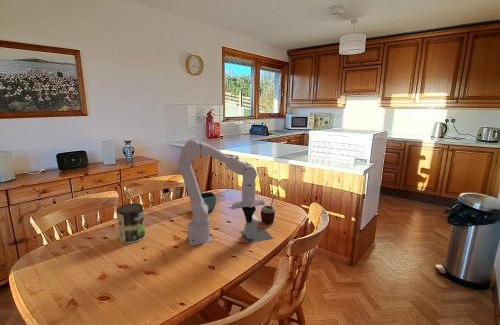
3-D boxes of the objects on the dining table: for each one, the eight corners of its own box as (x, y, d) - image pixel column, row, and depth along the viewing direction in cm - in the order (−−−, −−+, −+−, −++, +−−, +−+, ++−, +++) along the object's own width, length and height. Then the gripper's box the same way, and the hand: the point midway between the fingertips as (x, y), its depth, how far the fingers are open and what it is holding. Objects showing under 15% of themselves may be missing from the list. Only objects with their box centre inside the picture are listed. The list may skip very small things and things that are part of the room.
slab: (247, 238, 112) (253, 219, 111) (243, 232, 118) (248, 213, 117) (253, 239, 113) (259, 220, 112) (248, 232, 119) (254, 214, 118)
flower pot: (197, 208, 146) (196, 193, 144) (212, 206, 150) (211, 191, 148) (201, 214, 139) (200, 198, 137) (216, 211, 142) (216, 196, 140)
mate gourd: (259, 224, 128) (260, 196, 125) (262, 218, 136) (263, 190, 132) (274, 226, 126) (275, 197, 123) (276, 219, 134) (277, 192, 131)
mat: (248, 244, 110) (248, 243, 110) (239, 232, 120) (239, 231, 120) (273, 239, 114) (273, 238, 114) (263, 228, 124) (263, 227, 124)
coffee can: (150, 233, 118) (148, 204, 115) (136, 244, 108) (133, 213, 105) (130, 230, 120) (127, 202, 117) (114, 241, 110) (111, 211, 107)
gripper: (235, 197, 105) (235, 228, 108) (267, 193, 110) (266, 223, 113) (230, 192, 111) (230, 221, 114) (261, 188, 116) (260, 216, 119)
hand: (248, 222), depth 114 cm, fingers closed
